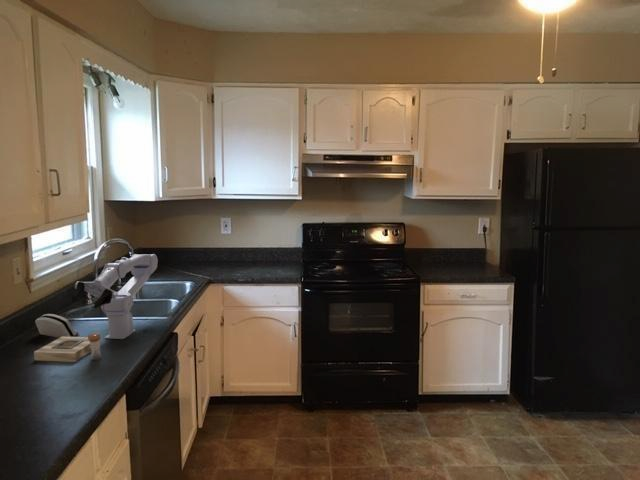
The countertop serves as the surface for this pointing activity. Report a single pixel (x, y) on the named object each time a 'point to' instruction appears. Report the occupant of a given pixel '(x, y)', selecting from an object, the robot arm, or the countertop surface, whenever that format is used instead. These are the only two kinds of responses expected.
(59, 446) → the countertop surface
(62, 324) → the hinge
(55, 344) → the block
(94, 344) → the pin
